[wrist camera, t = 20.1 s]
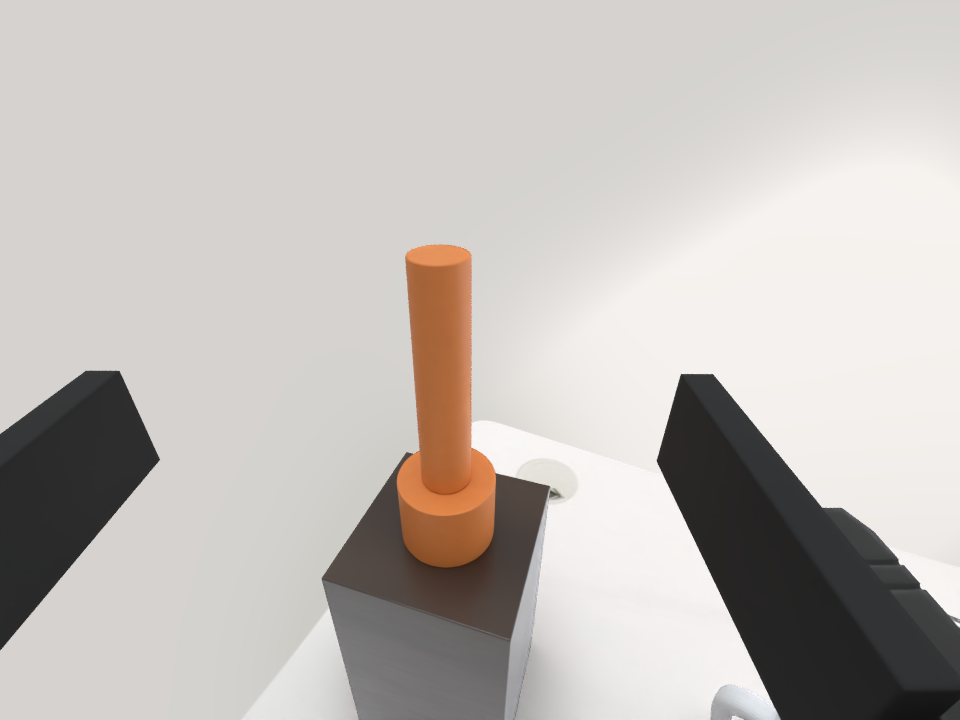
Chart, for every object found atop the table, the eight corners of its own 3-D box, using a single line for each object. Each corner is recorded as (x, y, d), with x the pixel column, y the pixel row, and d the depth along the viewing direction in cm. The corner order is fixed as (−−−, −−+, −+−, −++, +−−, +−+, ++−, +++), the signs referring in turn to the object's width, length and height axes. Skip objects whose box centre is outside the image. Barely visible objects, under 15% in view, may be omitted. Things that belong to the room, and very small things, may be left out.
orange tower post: (443, 587, 23) (428, 289, 15) (384, 526, 26) (345, 252, 18) (512, 528, 26) (531, 255, 18) (452, 480, 30) (445, 228, 21)
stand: (498, 792, 30) (510, 641, 21) (362, 735, 33) (320, 578, 24) (531, 641, 38) (550, 485, 29) (420, 605, 41) (406, 451, 32)
